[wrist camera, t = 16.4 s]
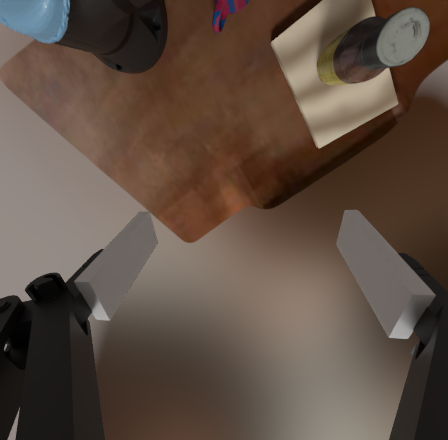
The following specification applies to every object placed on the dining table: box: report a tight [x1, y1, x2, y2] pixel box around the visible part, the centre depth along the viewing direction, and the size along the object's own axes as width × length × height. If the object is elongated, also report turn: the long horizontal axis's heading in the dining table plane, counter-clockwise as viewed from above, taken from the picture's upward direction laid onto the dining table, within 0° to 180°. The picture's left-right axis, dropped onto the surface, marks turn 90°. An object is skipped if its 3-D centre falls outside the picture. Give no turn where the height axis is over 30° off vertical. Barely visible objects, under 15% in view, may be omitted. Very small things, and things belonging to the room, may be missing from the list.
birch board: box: [271, 0, 398, 148], centre depth 37 cm, size 20×14×2 cm
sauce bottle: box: [317, 7, 430, 85], centre depth 27 cm, size 7×6×20 cm
